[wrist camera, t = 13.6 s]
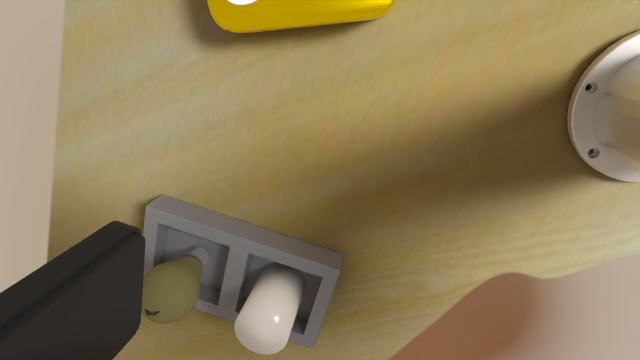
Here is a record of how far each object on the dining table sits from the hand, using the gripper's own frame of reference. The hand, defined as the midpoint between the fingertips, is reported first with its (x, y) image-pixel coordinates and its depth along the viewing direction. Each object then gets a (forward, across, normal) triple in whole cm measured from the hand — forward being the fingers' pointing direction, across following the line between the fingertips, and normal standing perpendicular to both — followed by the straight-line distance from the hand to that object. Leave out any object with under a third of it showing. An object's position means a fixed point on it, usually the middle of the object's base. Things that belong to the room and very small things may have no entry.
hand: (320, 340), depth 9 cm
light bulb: (+28, +15, +21) cm, 38 cm away
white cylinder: (+28, +5, +21) cm, 35 cm away
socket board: (+28, +10, +21) cm, 36 cm away
